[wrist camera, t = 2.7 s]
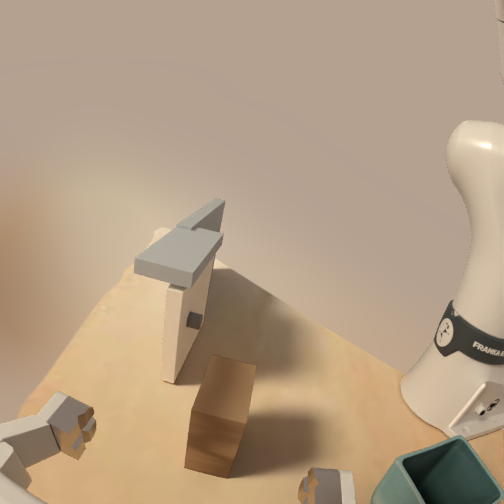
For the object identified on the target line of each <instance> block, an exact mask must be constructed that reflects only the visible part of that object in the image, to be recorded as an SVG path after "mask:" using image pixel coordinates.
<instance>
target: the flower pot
mask: <svg viewBox="0 0 504 504" xmlns="http://www.w3.org/2000/svg"><path fill="white" fill-rule="evenodd" d="M503 498H504V491H503V490H502V488H501V487H500V485H499V484H498V483H497V481H496V480H495V478H494V477H493V476H492V474H491V473H490V471H489V470H488V469H487V467H486V466H485V464H484V463H483V461H482V460H481V459H480V458H479V456H478V455H477V453H476V452H475V451H474V449H473V448H472V447H471V445H470V444H469V442H468V441H467V440H466V439H465V438H464V437H463V436H462V435H457V436H454V437H452V438H449V439H447V440H445V441H442V442H440V443H437V444H435V445H432V446H430V447H427V448H424V449H420V450H417V451H414V452H411V453H408V454H405V455H402V456H399V457H397V458H396V459H395V461H394V463H393V464H392V466H391V467H390V468H389V470H388V471H387V473H386V474H385V476H384V477H383V478H382V480H381V481H380V483H379V484H378V486H377V487H376V489H375V491H374V493H373V495H372V499H371V504H498V503H499V502H500V501H501V500H503Z"/></svg>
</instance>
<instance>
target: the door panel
mask: <svg viewBox="0 0 504 504" xmlns="http://www.w3.org/2000/svg"><path fill="white" fill-rule="evenodd" d="M213 260H214V256H213V258H212V259H211V260H210V262H209V263H208V265H207V266H206V267H205V269H204V270H203V272H202V273H201V275H200V276H199V277H198V279H197V280H196V282H195V283H194V285H193V286H192V287H191V289H190V288H186V287H183V286H179V285H175V284H171V285H170V286H169V287H168V288H167V294H166V305H165V317H164V329H163V343H162V359H161V379H160V380H164V381H167V382H170V383H173V384H174V382H175V380H176V378H177V375H178V373H179V371H180V369H181V367H182V365H183V363H184V361H185V359H186V357H187V355H188V353H189V351H190V349H191V347H192V345H193V343H194V341H195V339H196V337H197V335H198V333H199V331H200V329H201V327H202V324H203V321H204V314H205V308H206V302H207V296H208V290H209V284H210V278H211V272H212V266H213Z"/></svg>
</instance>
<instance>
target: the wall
mask: <svg viewBox="0 0 504 504" xmlns="http://www.w3.org/2000/svg"><path fill="white" fill-rule="evenodd" d="M224 205H225V200H221V199H214V200H212V201H211V202H209V203H208V204H206V205H205V206H203V207H202V208H200V209H199V210H197V211H196V212H194V213H193V214H191V215H190V216H188V217H187V218H185V219H184V220H182V221H181V222H180V223H178V224H177V227H176V228H175V229H173V230H172V231H171V232H169V233H168V234H166V235H165V236H164V237H162V238H161V239H160V240H158V241H157V242H156V243H154V244H153V245H151V246H150V247H149V248H147V249H146V250H145V251H143V252H142V253H141V254H139V255H138V256H137V257H135V264H134V273H136V274H139V275H143V276H146V277H150V278H153V279H157V280H160V281H164V282H168V283H170V284H169V286H170V285H171V284H175V285H179V286H183V287H186V288H190V289H191V287H192V286H193V285H194V283H195V282H196V280H197V279H198V277H199V276H200V275H201V273H202V272H203V270H204V269H205V267H206V266H207V265H208V263H209V262H210V260H211V259H212V258H213V256H214V260H215V254H216V252H217V250H218V249H219V248H220V246H221V245H222V240H223V233H219V232H220V226H221V221H222V215H223V210H224ZM214 260H213V266H214ZM213 266H212V271H213ZM211 273H212V272H211Z"/></svg>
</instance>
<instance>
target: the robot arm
mask: <svg viewBox="0 0 504 504" xmlns="http://www.w3.org/2000/svg"><path fill="white" fill-rule="evenodd" d="M494 7H495V14H496V21H497V30H498V39H499V50H500V67H501V77H502V81H503V83H504V0H494ZM446 161H447V168H448V172H449V175H450V177H451V180H452V182H453V184H454V185H455V187H456V188H457V190H458V191H459V193H460V195H461V196H462V198H463V201H464V203H465V205H466V208H467V211H468V215H469V220H470V225H471V246H470V252H469V257H468V260H467V264H466V268H465V271H464V274H463V277H462V280H461V283H460V285H459V288H458V291H457V293H456V296H455V298H454V300H452V301H450V303H449V305H448V307H447V309H446V311H445V313H444V315H443V317H442V319H441V321H440V323H439V327H438V329H437V332H436V335H435V338H434V339H433V341H432V342H431V344H430V345H429V347H428V348H427V350H426V351H425V353H424V354H423V355H422V357H421V358H420V359H419V360H418V362H417V363H416V364H415V365H414V366H413V367H412V368H411V369H410V371H408V372H407V373H406V374H405V375H404V376H403V378H402V380H401V384H400V388H401V393H402V396H403V398H404V400H405V402H406V403H407V405H408V406H409V407H410V409H411V410H412V411H413V412H414V413H415V414H416V415H417V416H419V417H420V418H421V419H422V420H424V421H425V422H427V423H429V424H430V425H432V426H434V427H436V428H438V429H440V430H442V431H443V432H444V433H445V434H446V435H447V436H448V437H450V438H452V437H454V436H457V435H462V436H463V437H464V438H465V439H466V440H470V439H473V438H476V437H479V436H482V435H485V434H488V433H491V432H494V431H496V430H499V429H502V428H504V125H503V124H499V123H496V122H488V121H476V120H465V121H464V122H462V123H461V124H460V125H458V126H457V128H456V129H455V130H454V131H453V133H452V135H451V137H450V139H449V142H448V145H447V151H446ZM93 415H94V410H93V407H90V406H88V405H86V404H84V403H82V402H80V401H78V400H76V399H74V398H72V397H70V396H68V395H66V394H64V393H62V392H60V391H59V392H57V393H55V394H54V395H53V397H52V398H51V399H50V400H49V401H48V402H47V404H46V405H45V406H44V407H43V408H42V409H41V411H40V412H39V413H38V414H37V415H36V416H35V415H30V416H26V417H23V418H20V419H16V420H13V421H9V422H5V423H2V424H0V504H47V503H46V502H44V501H42V500H41V499H39V498H38V497H36V496H35V495H33V494H31V493H30V492H28V491H27V490H26V489H27V488H28V486H29V485H30V483H31V481H32V479H31V477H30V475H29V473H28V472H27V470H26V469H25V468H27V467H29V466H31V465H34V464H36V463H38V462H40V461H42V460H45V459H47V458H49V457H51V456H53V455H55V454H57V453H59V452H60V451H61V452H63V453H65V454H67V455H69V456H71V457H73V458H75V459H77V460H79V458H80V457H81V455H82V454H83V452H84V451H85V449H86V447H85V443H86V442H89V441H91V439H92V438H93V436H94V434H95V431H96V420H95V419H94V418H93ZM298 499H299V501H300V502H301V504H356V498H355V489H354V481H353V473H352V472H351V471H350V470H337V469H322V468H311V469H310V470H309V471H308V476H307V477H305V478H303V480H302V481H301V484H300V486H299V491H298Z"/></svg>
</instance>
